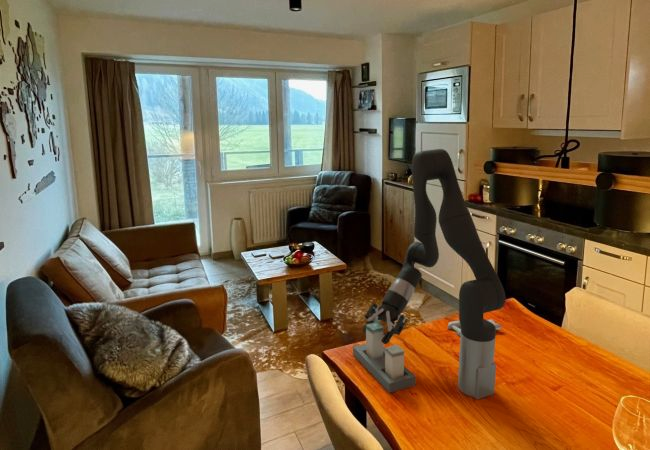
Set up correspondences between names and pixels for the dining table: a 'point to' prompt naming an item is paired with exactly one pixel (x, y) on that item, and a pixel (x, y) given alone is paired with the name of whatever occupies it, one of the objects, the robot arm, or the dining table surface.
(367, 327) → the plug
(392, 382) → the two-hole peg board
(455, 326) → the gun
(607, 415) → the dining table surface
